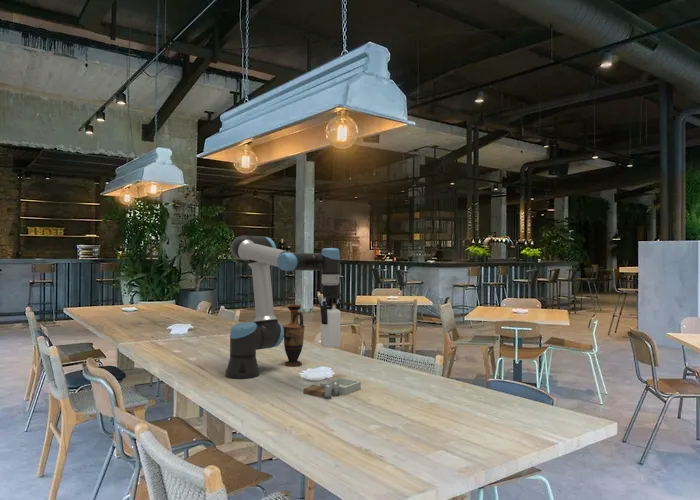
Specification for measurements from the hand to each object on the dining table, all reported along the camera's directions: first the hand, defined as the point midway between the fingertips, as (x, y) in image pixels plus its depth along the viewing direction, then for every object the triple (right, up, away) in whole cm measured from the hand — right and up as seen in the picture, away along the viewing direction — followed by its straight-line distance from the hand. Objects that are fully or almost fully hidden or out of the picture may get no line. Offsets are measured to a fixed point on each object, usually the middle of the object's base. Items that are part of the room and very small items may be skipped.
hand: (330, 340), depth 211 cm
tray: (+4, -20, -5) cm, 21 cm away
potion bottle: (0, -3, 0) cm, 3 cm away
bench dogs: (+1, -19, -15) cm, 25 cm away
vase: (-21, -20, +41) cm, 50 cm away
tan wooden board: (-4, -20, -11) cm, 23 cm away
